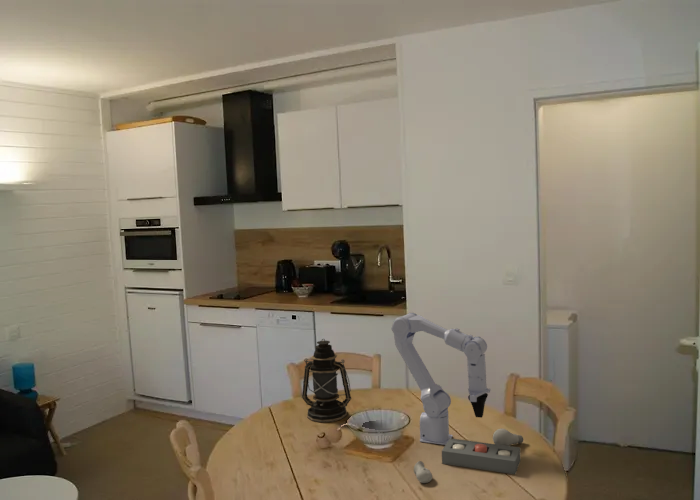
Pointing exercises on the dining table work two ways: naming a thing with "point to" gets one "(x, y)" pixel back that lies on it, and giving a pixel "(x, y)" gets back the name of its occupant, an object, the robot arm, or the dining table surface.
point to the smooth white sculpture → (422, 472)
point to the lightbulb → (506, 437)
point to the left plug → (458, 446)
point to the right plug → (504, 452)
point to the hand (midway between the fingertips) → (479, 416)
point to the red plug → (481, 448)
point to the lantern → (325, 385)
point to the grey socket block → (481, 456)
